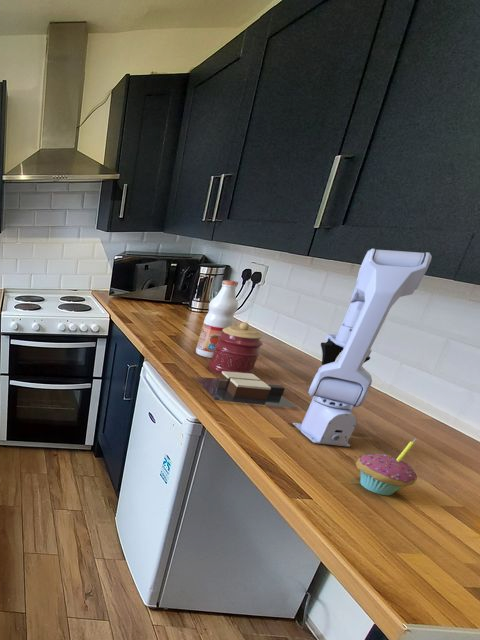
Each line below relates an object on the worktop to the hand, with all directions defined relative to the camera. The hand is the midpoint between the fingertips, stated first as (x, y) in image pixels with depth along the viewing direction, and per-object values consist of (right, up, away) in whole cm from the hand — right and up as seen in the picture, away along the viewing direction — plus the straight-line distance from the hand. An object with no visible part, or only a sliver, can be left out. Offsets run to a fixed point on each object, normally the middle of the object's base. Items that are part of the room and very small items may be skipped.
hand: (334, 372), depth 115 cm
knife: (-20, -6, +7) cm, 22 cm away
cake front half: (-22, -7, +5) cm, 24 cm away
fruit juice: (-12, +8, +40) cm, 42 cm away
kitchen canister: (-15, +1, +23) cm, 28 cm away
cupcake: (-23, -25, -34) cm, 48 cm away
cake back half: (-21, -4, +10) cm, 24 cm away
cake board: (-22, -6, +7) cm, 24 cm away
